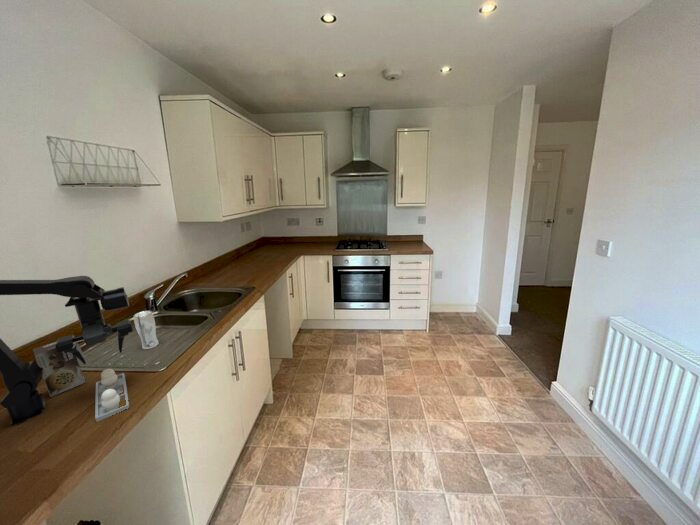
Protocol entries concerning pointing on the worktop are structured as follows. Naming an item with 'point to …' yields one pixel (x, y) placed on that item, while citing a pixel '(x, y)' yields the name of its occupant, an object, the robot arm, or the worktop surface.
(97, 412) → the gray divided compartment tray
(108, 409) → the white drawer knob
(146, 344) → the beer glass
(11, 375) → the robot arm
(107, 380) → the cream stacked ball figurine
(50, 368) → the coffee box
